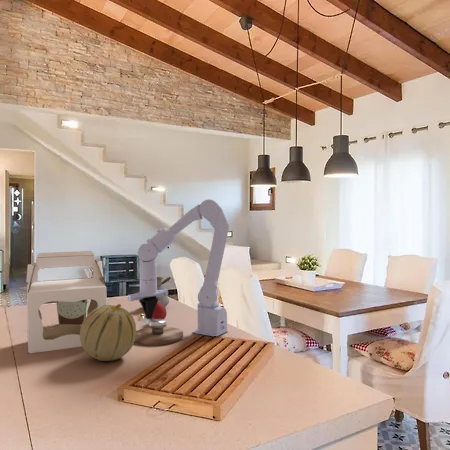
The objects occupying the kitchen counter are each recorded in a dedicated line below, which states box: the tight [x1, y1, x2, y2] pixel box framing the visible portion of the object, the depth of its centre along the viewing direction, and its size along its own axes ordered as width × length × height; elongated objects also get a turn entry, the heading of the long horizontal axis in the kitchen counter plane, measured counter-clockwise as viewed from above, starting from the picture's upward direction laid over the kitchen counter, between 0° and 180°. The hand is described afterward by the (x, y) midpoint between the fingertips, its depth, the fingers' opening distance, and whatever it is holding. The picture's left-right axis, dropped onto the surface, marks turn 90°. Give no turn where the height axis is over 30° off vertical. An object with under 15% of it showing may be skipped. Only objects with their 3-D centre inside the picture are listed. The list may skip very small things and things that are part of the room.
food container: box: [54, 299, 90, 326], centre depth 151 cm, size 12×6×10 cm, turn 84°
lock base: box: [134, 326, 184, 346], centre depth 131 cm, size 16×16×4 cm
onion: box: [152, 301, 167, 320], centre depth 149 cm, size 6×6×8 cm
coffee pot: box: [147, 276, 174, 308], centre depth 171 cm, size 21×12×15 cm, turn 32°
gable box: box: [25, 250, 108, 354], centre depth 127 cm, size 22×13×28 cm, turn 117°
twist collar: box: [137, 313, 168, 328], centre depth 134 cm, size 14×6×2 cm, turn 41°
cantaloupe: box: [80, 303, 137, 362], centre depth 111 cm, size 15×15×15 cm
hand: (148, 319), depth 138 cm, fingers closed
